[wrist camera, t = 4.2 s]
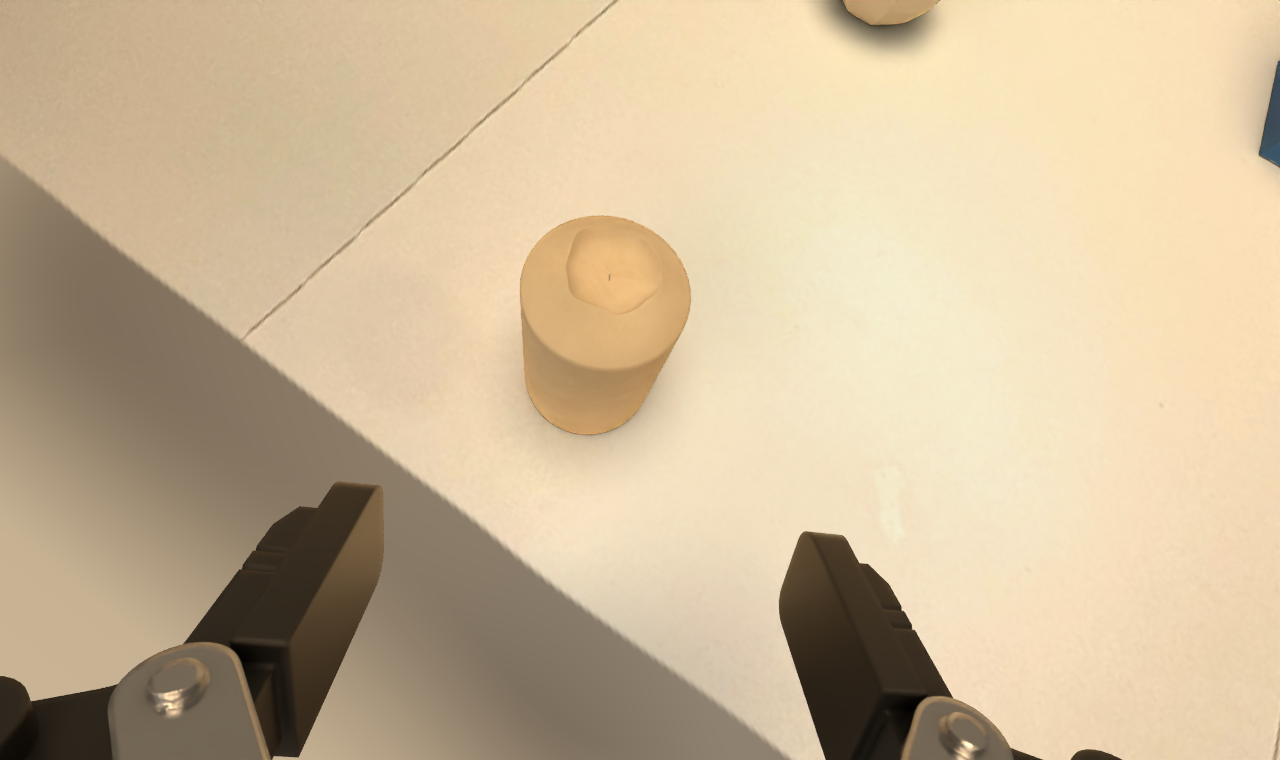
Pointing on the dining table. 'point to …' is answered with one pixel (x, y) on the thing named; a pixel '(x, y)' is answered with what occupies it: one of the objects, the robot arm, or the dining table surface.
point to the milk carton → (1273, 125)
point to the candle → (599, 320)
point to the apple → (888, 10)
